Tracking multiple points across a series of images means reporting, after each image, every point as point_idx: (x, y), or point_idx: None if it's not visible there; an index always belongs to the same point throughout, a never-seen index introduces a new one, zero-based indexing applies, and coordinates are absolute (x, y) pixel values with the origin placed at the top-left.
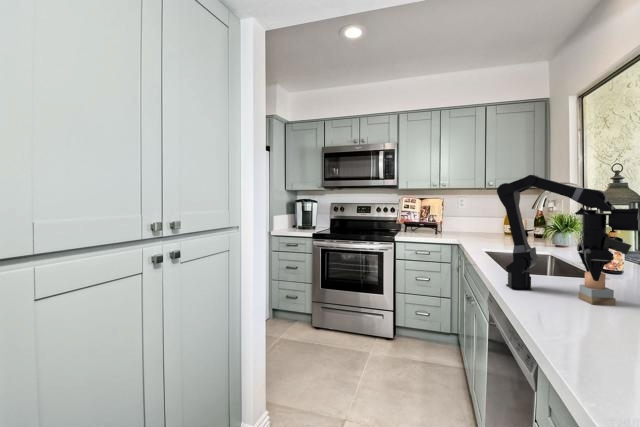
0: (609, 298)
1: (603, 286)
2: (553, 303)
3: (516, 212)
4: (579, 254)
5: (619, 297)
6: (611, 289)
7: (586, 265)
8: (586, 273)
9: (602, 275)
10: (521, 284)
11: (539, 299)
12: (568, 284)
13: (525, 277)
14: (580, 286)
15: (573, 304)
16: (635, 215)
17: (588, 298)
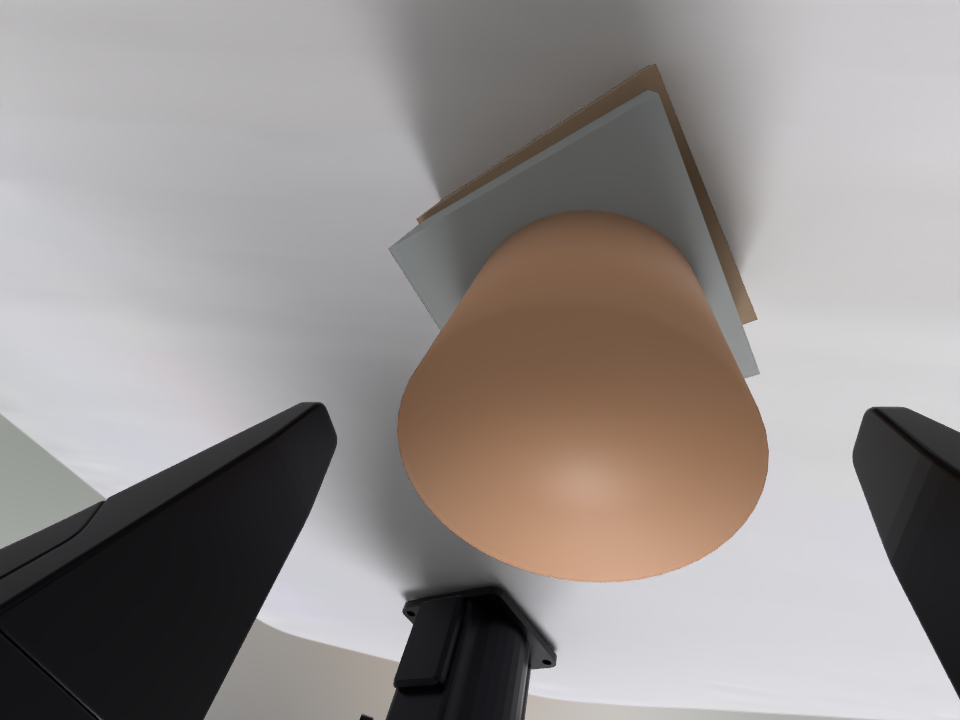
0: (680, 140)
1: (671, 251)
2: (815, 529)
3: None
4: None
5: (220, 10)
6: (608, 125)
7: (248, 591)
8: (646, 577)
9: (731, 373)
10: (519, 665)
11: (727, 582)
12: (126, 381)
13: (490, 708)
14: None
15: (783, 417)
16: None
17: None
